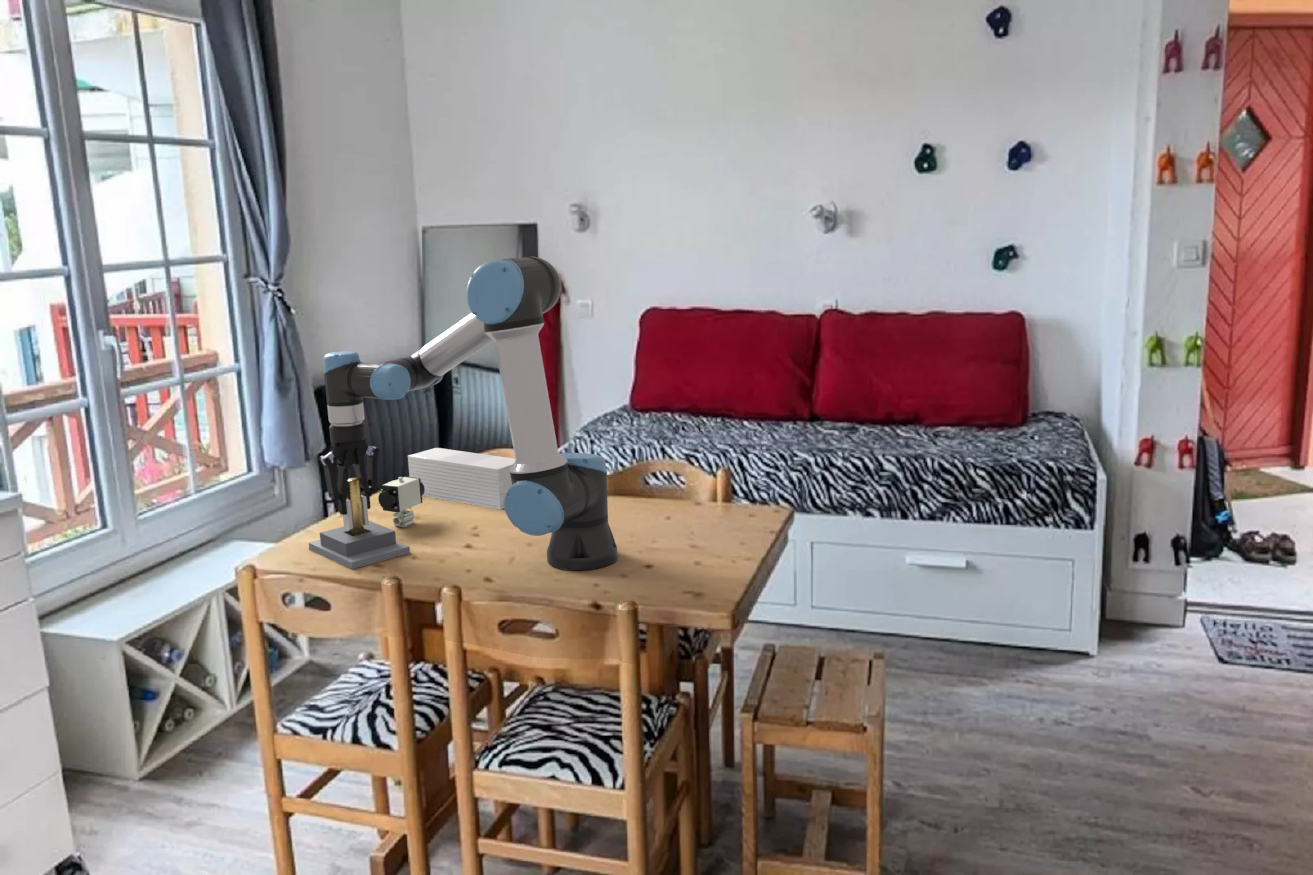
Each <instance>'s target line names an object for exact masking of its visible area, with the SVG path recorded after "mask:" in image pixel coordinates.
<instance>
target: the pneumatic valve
mask: <svg viewBox="0 0 1313 875" xmlns="http://www.w3.org/2000/svg"><path fill="white" fill-rule="evenodd" d="M424 492H425V488H424V485H423V483H422V482H421V478H414V477H410V476H404V477H403V476H399V477H398V479H395V480H391V481H388V482H387V483H384V484H381V485H380V493H379V494H378V503H379V506H380V507H381V508H382V511H385V512H392V513H393V514H392V516H393V519H392V522H393V526H394V527H396V528H397V527H402V528H403V529H404V528H407V527H410V526H411V525H414V524H415V520H414V519H415V514H414V510H411V509H412V507H416V506H418V505H420V504H423V496H422V495H423V494H424ZM408 509H410V510H408Z"/></svg>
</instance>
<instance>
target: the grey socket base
mask: <svg viewBox="0 0 1313 875" xmlns="http://www.w3.org/2000/svg"><path fill="white" fill-rule="evenodd" d="M368 521H369V525H364V531H365V533H364V534H360V535H356V536H351V535H350V531H349V529H348V528H345V527H344V526H340V527H337V528H333V529H329V530H325V531H320V532H319V540H314V541H310V542H308V549H309V550H310V549H311V550H310V551H313V552H314V553H317V554H319V555H321V556H323V557H325V558H328V559H329V560H332V561H334V562H337V563H338V564H340V565H343V566H344V565H345V567H346V568H349V569H351V570H353V569H357V568H361V567H364V566H368V565H372V564H375V563H376V564H377V563H379V561H380V562H382V561H386V560H389V559H393V558H396V556H398V557H400V556H404V555H407V554H410V553H411V548H410V546H409V545H406V544H404V543H402V542H400V541H397V538H396V531H395V530H393V529H391V528H388V527H386V526H383V525H380V524H378V523H375V522H373V521H371V520H368Z"/></svg>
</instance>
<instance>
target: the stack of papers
mask: <svg viewBox="0 0 1313 875" xmlns="http://www.w3.org/2000/svg"><path fill="white" fill-rule="evenodd" d="M407 459H408V460H407V462H408V465H407V466H408V473H409V474H408V475H409V476H408V477H414V478H421V482H422V483H423V485H424V488H425V492H424V494H423V495H422V497H426V498H432V499H437V500H439V499H440V500H444V501H449V502H456V503H460V502H464V503H463V504H466V503H468V504H467V505H471V504H472V505H473V506H477V505H478V506H477V507H483V508H488V507H490V509H493V510H494V509H496V510H502V509H503V508H504V509H505V507H504V498H505V494H506V493H507V491H508V489H509V487H510V486H512V481H511V476H510V468H511V467H512V465H513V464H514V463H515V457H514V458H513V457H506V456H505V457H504V456H497V455H491V454H484V453H479V452H478V453H477V452H469V451H462V450H455V449H450V448H449V449H448V448H442V447H434V448H430V449H428V450H422V451H420V452H417V453H413V454H409V455H407Z"/></svg>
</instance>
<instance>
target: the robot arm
mask: <svg viewBox="0 0 1313 875" xmlns="http://www.w3.org/2000/svg"><path fill="white" fill-rule="evenodd" d="M560 277H561V276H560V274H559V273H558V271H557V269H556V268H555V266H553V265H552V263H551V262H549V261H547V260H545V259H543V258H541V257H536V256H523V257H514V258H512V257H511V258H510V257H509V258H498V259H495V260H492V261H491V260H490V261H488V262H484V263H483V264H481V265H479V266H478V267H477V268H476V269H475V270H474V272H473V273H472V275H471V276H470V277H469V280H468V282H467V286H466V302H467V305H468V308H469V310H470V313H469V314H467V315H466V316H464V317H463V318H461V319H460V320H458V322H456V323H454V324H453V325H452V326H450V327H449V328H448V329H446V330H444V332H442V333H440V334H439V335H437V336H436V337H434V338H433V339H432V340H430V341H429V342H427V343H426V344H424V346H422V347H421V348H420V349H418V350H417V351H415V352H414V353H412V354H411V355H409V356H404V357H400V358H397V359H391V360H387V361H382V362H381V361H380V362H363V361H361V359H360V355H359V353H358V352H356V351H354V350H341V351H333V352H329V353H326V354H325V355H324V356H323V378H324V386H325V392H326V394H325V395H326V404H327V405H326V407H327V416H328V422H329V424H330V425H329V428H328V429H329V438H330V443H331V444H330V448H329V452H328V453H327V454H325V455H320V456H319V462H320V463H321V464H322V466H323V471H324V476H325V483H326V488H327V493H328V497H329V498H330V499H333V500H335V501H337V504H338V513H339V514H340V515H341V516H342V517H343V518H342V519H343V527H345V528H348V529H353V522H352V512H351V501H350V500H348V499H347V488H348V479H349V471H350V469H351V466H353V469H354V472H355V476H356V477H355V478H359V479H360V488H361V499H362V509H363V520H364V525H369V521H370V520H369V511H368V510H370V509H371V506H372V505H371V498H370V497H372V495H373V492H376V491H378V457H379V453H380V448H379V447H376V446H374V445H369V444H368V442H367V430H366V423H365V422H364V421H365V419H366V418H365V417H366V416H365V408H364V398H367V399H376V400H377V399H378V400H384V401H389V400H401V399H402V398H404V397H405V395H407V394H408V393H409V392H413V391H416V390H417V391H418V390H422V389H427V388H431V387H432V386H434V385H437V384H438V383H440V382H441V381H442V379H443V378H444V375H445V374H446V373H448V372H449V371H451V370H453V369H454V368H456V367H457V366H458V365H460V364H461V363H463V362H465V361H466V360H467V359H469V358H470V357H472V356H473V355H474V354H476V353H477V352H479V351H481V350H482V349H483V348H485V347H486V346H488V345H490V344H491V343H493V342H494V347H495V352H496V359H497V363H498V365H497V366H498V370H499V373H500V374H499V375H500V380H501V385H502V386H501V387H502V392H503V396H504V397H503V398H504V402H505V408H506V415H507V419H508V425H509V431H510V437H511V441H512V447H513V453H514V459H515V463H514V464H513V465H512V467H511V468H510V476H511V481H512V486H510V487H509V489H508V491H507V493H506V494H505V498H504V507H505V508H504V511H505V514H506V516H507V518H508V520H509V522H511V524H512V525H513V526H514V527H515V528H517V529H518V530H519V531H520V532H521V533H523V534H526V535H529V536H533V537H539V536H540V537H541V536H545V535H548V534H550V533H551V536H550V540H549V544H548V546H547V550H546V559H547V560H546V561H547V563H548V565H549V566H552V567H553V568H557V569H561V570H567V571H587V570H594V569H595V570H596V569H600V568H604V567H607V566H610V565H611V564H613V563H615V562H616V561H617V560H618V556H619V554H618V546H617V543H616V540H615V537H614V534H613V532H612V529H611V527H610V523H609V516H608V514H609V513H608V511H609V509H608V505H609V504H608V479H607V474H608V472H607V467H606V466H607V465H606V459H605V458H604V457H603V456H602V455H599V454H595V453H589V452H588V453H587V452H586V453H585V452H563V453H559V449H558V442H557V436H556V433H555V432H556V431H555V430H556V429H555V425H554V420H553V414H552V408H551V407H552V406H551V403H550V397H549V396H550V395H549V391H548V384H547V378H546V372H545V367H544V361H543V356H542V350H541V349H542V348H541V345H540V337H539V333H540V331H541V330H542V328H543V327H544V325H545V321H544V316H543V315H544V314H545V313H547V312H549V311H550V310H551V309H553V307H554V306H556V304H557V303H558V301H559V299H560V296H561V294H562V293H561V290H562V281H561V278H560ZM365 455H366V466H365V461H364V457H365ZM334 459H335V461H337V463H336V464H337V465H336V467H337V476H336V472H335V467H334V464H333V463H334ZM365 467H366V468H365ZM336 478H337V479H336Z"/></svg>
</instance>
